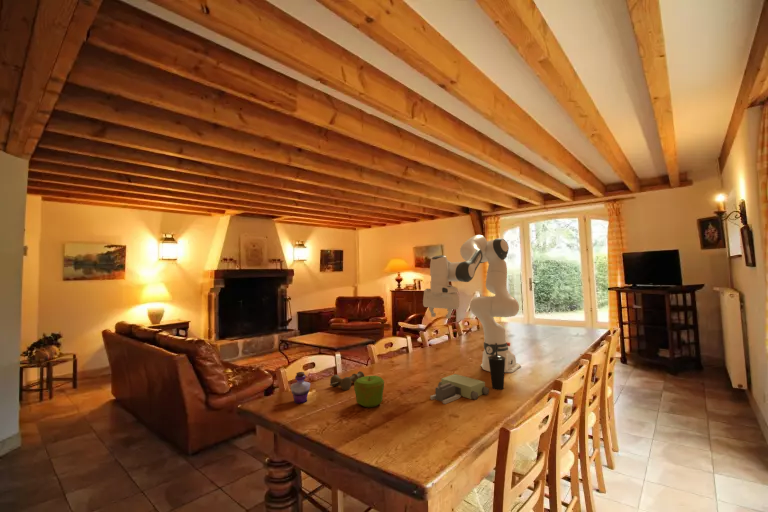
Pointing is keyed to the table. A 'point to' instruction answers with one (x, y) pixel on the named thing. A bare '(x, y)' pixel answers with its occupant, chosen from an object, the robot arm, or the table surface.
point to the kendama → (345, 380)
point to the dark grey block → (445, 391)
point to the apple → (369, 390)
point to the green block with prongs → (463, 387)
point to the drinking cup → (497, 370)
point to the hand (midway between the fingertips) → (440, 317)
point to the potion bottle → (300, 388)
